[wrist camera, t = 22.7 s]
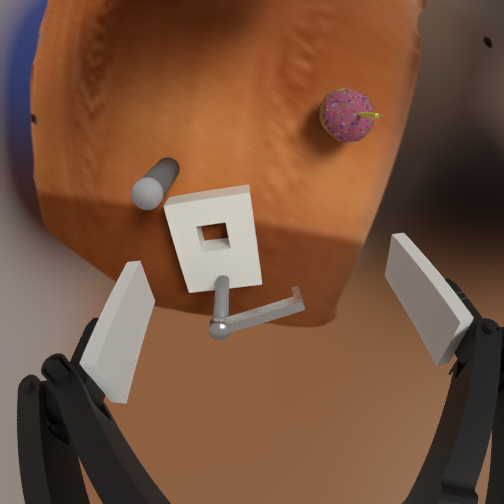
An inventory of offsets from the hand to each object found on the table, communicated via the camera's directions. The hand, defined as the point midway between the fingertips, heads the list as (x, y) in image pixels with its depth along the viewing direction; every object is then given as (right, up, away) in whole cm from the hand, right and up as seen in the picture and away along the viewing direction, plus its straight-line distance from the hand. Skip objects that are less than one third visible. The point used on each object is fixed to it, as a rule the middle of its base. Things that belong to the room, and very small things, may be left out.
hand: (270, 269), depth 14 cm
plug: (-15, +15, +31) cm, 37 cm away
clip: (-1, -7, +30) cm, 31 cm away
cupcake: (+13, +24, +27) cm, 38 cm away
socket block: (-7, +4, +38) cm, 39 cm away
